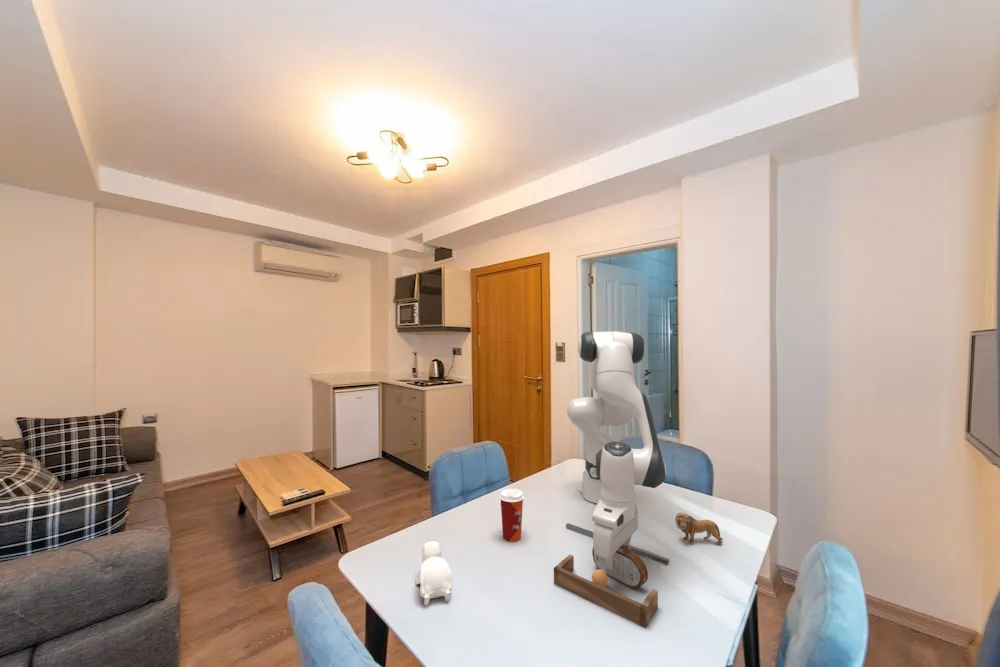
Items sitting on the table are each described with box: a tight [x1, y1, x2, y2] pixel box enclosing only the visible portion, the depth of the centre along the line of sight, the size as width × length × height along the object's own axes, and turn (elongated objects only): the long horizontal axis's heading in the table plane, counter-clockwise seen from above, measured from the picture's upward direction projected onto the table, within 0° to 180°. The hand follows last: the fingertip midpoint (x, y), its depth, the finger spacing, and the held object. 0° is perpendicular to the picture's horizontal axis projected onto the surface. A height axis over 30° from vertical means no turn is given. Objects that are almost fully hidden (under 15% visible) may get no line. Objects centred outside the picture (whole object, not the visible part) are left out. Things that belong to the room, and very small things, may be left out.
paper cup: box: [499, 488, 525, 543], centre depth 121 cm, size 8×8×14 cm
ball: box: [591, 568, 609, 588], centre depth 97 cm, size 4×4×4 cm
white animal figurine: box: [415, 540, 453, 606], centre depth 98 cm, size 9×8×15 cm
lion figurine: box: [675, 512, 724, 546], centre depth 118 cm, size 15×5×9 cm, turn 94°
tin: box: [591, 546, 649, 589], centre depth 100 cm, size 15×3×8 cm, turn 41°
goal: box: [553, 554, 659, 629], centre depth 94 cm, size 8×23×4 cm, turn 50°
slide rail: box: [565, 522, 670, 566], centre depth 117 cm, size 1×32×1 cm, turn 50°
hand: (617, 559), depth 101 cm, fingers open, 8 cm apart
